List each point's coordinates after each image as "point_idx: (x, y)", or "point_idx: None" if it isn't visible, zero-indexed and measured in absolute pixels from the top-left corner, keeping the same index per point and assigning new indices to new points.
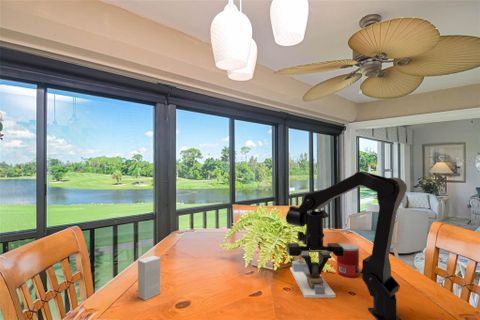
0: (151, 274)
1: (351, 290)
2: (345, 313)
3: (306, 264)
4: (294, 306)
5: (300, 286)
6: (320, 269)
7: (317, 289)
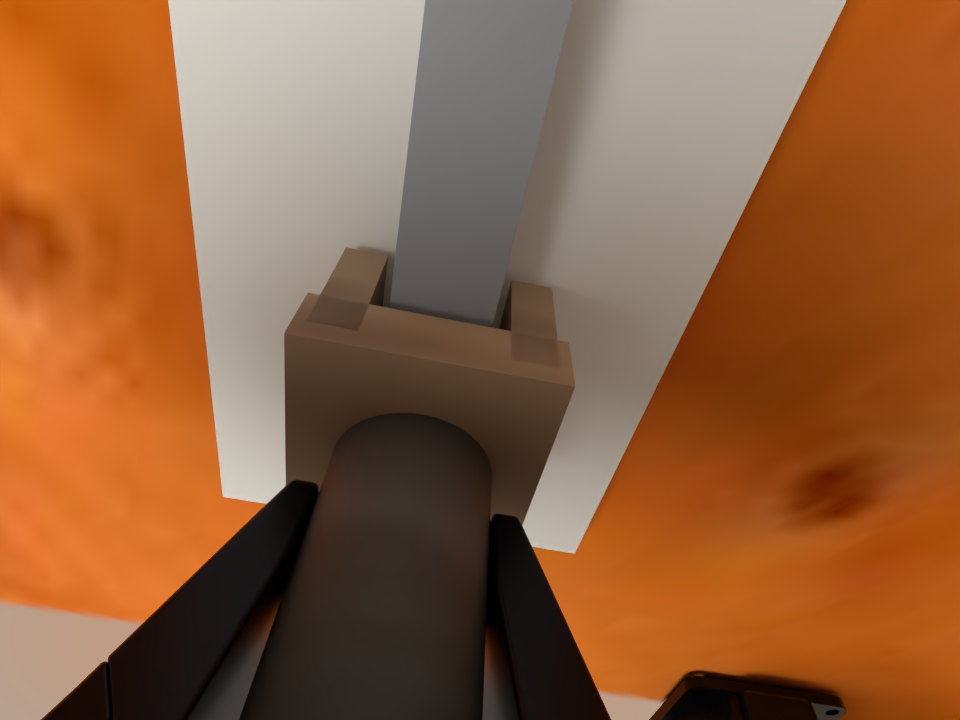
0: None
1: (896, 454)
2: None
3: (123, 667)
4: (108, 547)
5: (204, 321)
6: None
7: None
